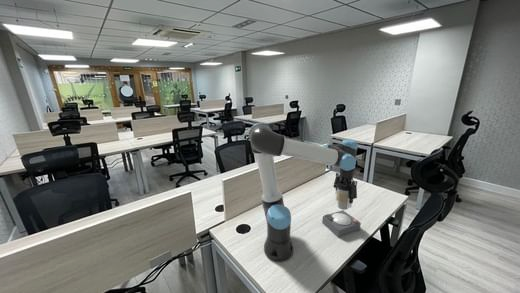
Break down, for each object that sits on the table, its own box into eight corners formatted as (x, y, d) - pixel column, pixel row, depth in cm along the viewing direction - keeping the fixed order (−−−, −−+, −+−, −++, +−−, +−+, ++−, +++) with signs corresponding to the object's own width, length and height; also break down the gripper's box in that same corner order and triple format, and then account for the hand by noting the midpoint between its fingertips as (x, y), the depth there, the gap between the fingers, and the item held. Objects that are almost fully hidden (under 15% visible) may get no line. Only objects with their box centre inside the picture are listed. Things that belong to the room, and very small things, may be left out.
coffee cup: (353, 212, 114) (356, 188, 110) (335, 210, 116) (337, 186, 112) (349, 203, 123) (352, 180, 119) (333, 201, 125) (335, 179, 121)
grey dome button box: (338, 237, 114) (339, 228, 112) (322, 223, 127) (322, 214, 125) (359, 230, 120) (361, 221, 118) (342, 216, 132) (343, 208, 131)
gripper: (368, 173, 104) (362, 211, 111) (338, 160, 123) (335, 194, 129) (357, 175, 102) (352, 215, 108) (328, 162, 121) (326, 196, 127)
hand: (343, 203), depth 119 cm, fingers closed on coffee cup, 8 cm apart
